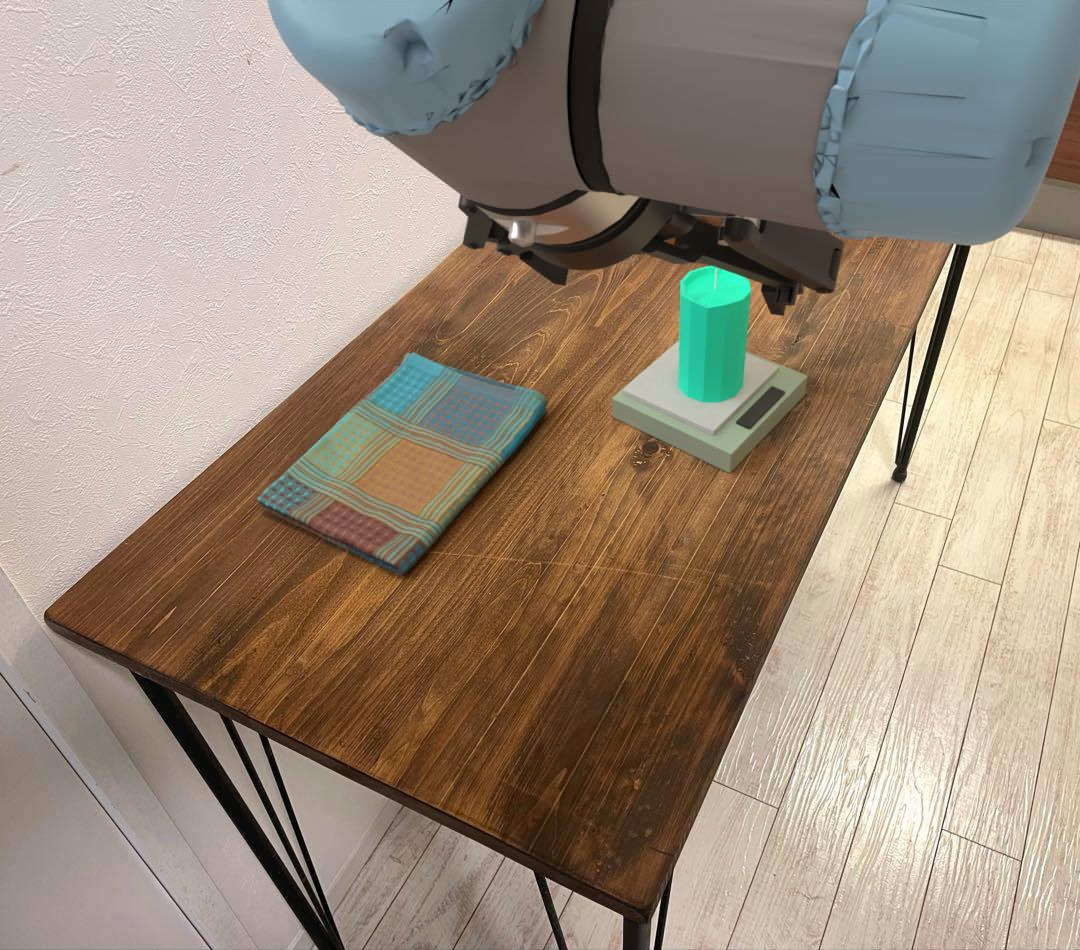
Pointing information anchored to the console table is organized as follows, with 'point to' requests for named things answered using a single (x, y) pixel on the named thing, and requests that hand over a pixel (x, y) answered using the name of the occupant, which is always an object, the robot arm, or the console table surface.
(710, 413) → the scale
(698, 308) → the candle
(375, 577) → the console table surface
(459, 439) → the dish towel
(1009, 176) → the robot arm
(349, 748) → the console table surface
